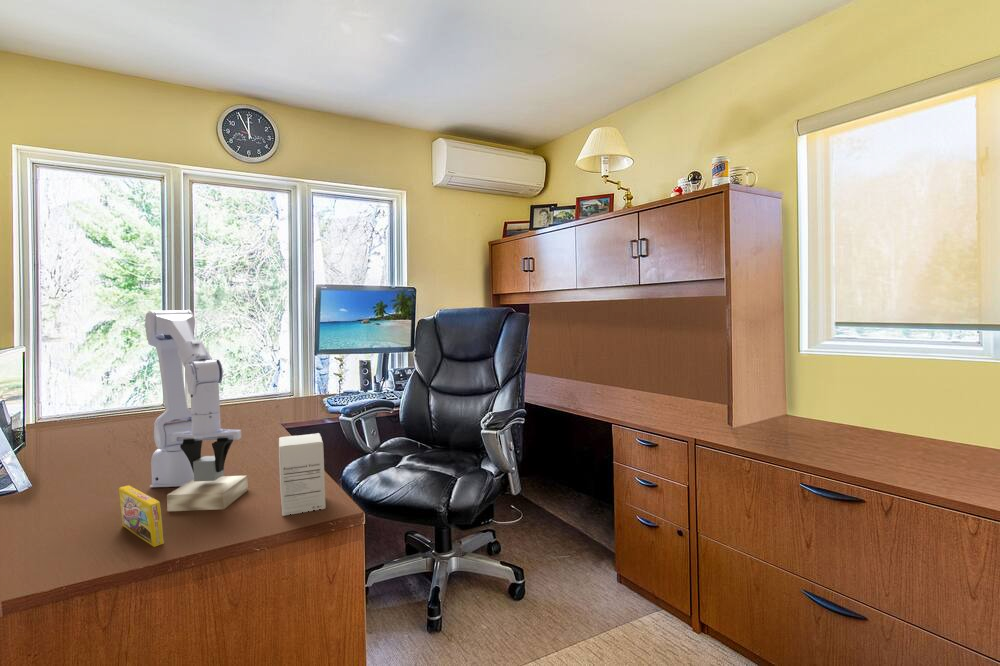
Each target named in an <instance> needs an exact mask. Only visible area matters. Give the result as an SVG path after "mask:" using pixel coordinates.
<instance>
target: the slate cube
mask: <svg viewBox="0 0 1000 666" xmlns="http://www.w3.org/2000/svg"><path fill="white" fill-rule="evenodd" d="M193 468H194V482H195V481H215V480H217V479H218V478H220V477H221V476H225V469H224V470H222V471H221V472H216V467H215V455H203V456H202V457H201V458H199V459H198V460H196V461H194V462H193Z"/></svg>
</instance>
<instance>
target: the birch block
mask: <svg viewBox="0 0 1000 666" xmlns="http://www.w3.org/2000/svg"><path fill="white" fill-rule="evenodd" d="M248 483H249V482H248V475H226V476H225V475H223V476H221V477H220V478H218V479H217V480H215V481H195V482H194V479H193V480H191V481H189V482H188V483H186V484H184V485H183V486H178V488H176V489H174V490H173V491H171V492H169V493H168V494H166V504H167V505H166V507H167V509H166V511H167V512H183V511H184V512H185V511H186V512H187V511H189V512H191V511H207V510H211V511H212V510H214V511H215V510H226V508H227V507H229V506H230V505H231V504H232V503H234V502H235V501H236V500H237V499H238V498H239V499H240V497H242V495H243V494H245V493H246V492H247V491H249V488H248V487H249V484H248Z"/></svg>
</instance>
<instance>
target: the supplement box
mask: <svg viewBox="0 0 1000 666" xmlns="http://www.w3.org/2000/svg"><path fill="white" fill-rule="evenodd" d="M324 454H325V453H324V442H323V439H322V436H321V433H319V432H317V433H309V434H301V435H300V434H299V435H286V436H281V437H279V438H278V465H279V466H278V467H279V468H278V469H279V488H280V489H279V490H280V501H281V505H280V506H281V516H283V517H285V516H291V515H296V514H297V515H298V514H302V512H303V513H308V511H309V512H313V510H315V511H320V510H319V509H321V510H325V509H326V507H327V506H326V486H325V485H326V484H325V483H326V482H325V480H326V479H325V458H324V457H325V456H324ZM290 514H291V515H290Z"/></svg>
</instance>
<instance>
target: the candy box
mask: <svg viewBox="0 0 1000 666" xmlns="http://www.w3.org/2000/svg"><path fill="white" fill-rule="evenodd" d="M118 494H119V505H120V513H121V521H122V523H121V524H122V527H124V528H125V529H127V530H128V531H130V532H131V533H132V534H134V535H135V536H137V537H138V538H139V539H142V540H143V541H145V542H146V543H147V544H149V545H150V546H152V547H153V548H155V547H158V546H161V545H164V543H165V541H164V533H163V531H164V530H163V521H162V520H163V519H162V518H163V517H162V509H161V502H160V501H159V500H158V499H155V498H154V497H152V496H150V495H148V494H146V493H144V492H142V491H140V490H139V489H137V488H134V487H133V486H132V485H130V484H128V485H125V486H120V487H119V488H118Z"/></svg>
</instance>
